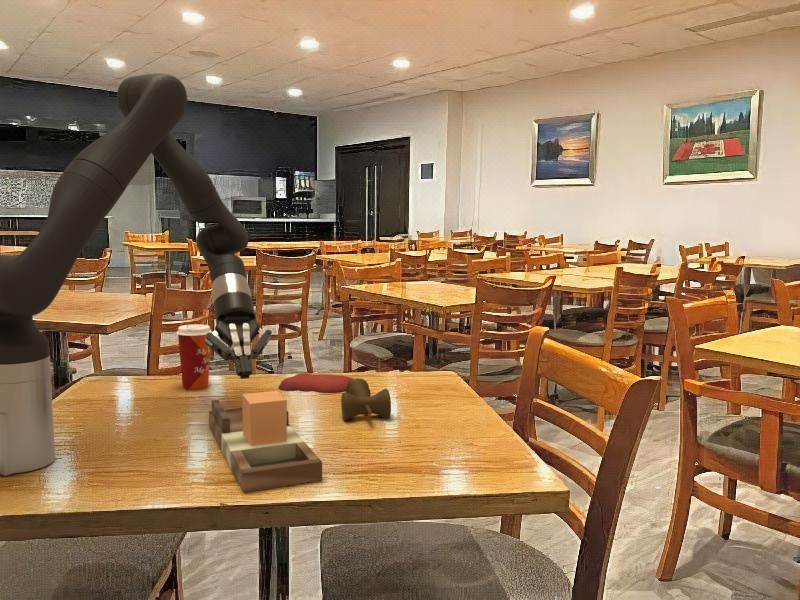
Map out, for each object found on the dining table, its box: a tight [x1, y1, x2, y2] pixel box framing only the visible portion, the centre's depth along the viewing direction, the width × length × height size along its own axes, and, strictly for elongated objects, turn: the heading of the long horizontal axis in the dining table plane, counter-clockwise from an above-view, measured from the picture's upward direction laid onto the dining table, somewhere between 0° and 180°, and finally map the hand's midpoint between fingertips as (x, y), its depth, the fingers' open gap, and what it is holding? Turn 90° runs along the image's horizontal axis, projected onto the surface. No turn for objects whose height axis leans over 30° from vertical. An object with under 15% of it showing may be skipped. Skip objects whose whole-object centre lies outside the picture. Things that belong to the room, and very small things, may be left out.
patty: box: [278, 372, 354, 394], centre depth 159 cm, size 18×14×2 cm
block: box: [241, 390, 288, 446], centre depth 113 cm, size 6×6×7 cm
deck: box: [208, 399, 323, 493], centre depth 115 cm, size 32×12×6 cm, turn 24°
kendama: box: [340, 377, 392, 422], centre depth 138 cm, size 6×10×20 cm
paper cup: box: [176, 323, 213, 391], centre depth 155 cm, size 8×8×14 cm
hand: (245, 376), depth 125 cm, fingers closed
